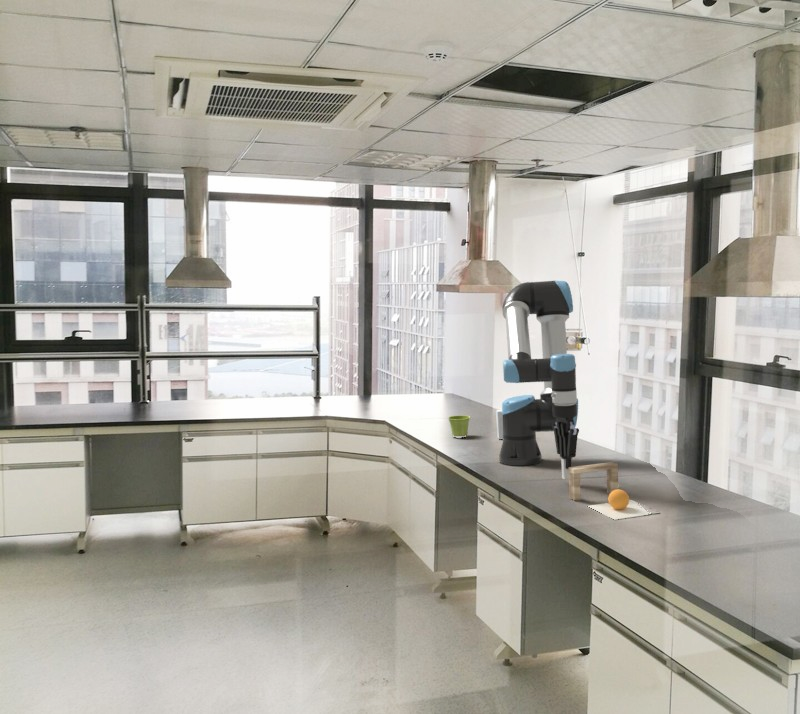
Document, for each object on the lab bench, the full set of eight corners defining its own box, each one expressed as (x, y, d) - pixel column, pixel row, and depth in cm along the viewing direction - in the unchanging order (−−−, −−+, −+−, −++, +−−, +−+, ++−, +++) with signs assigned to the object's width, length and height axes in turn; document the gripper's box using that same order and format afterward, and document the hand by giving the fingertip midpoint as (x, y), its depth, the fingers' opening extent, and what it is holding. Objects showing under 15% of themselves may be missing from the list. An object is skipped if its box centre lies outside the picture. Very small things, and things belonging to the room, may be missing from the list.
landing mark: (587, 506, 212) (587, 505, 212) (630, 500, 216) (630, 499, 216) (614, 520, 198) (614, 519, 198) (660, 513, 202) (660, 512, 202)
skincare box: (511, 437, 315) (510, 409, 314) (513, 439, 311) (512, 410, 310) (496, 438, 315) (495, 409, 314) (498, 440, 311) (497, 411, 310)
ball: (609, 514, 207) (602, 496, 210) (627, 511, 209) (619, 494, 212) (617, 505, 203) (610, 487, 206) (635, 502, 204) (627, 484, 208)
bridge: (569, 498, 221) (568, 467, 220) (613, 492, 225) (612, 461, 224) (574, 500, 218) (573, 469, 217) (618, 494, 222) (617, 463, 221)
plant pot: (469, 439, 316) (468, 419, 315) (447, 439, 318) (446, 419, 317) (472, 435, 325) (471, 415, 324) (451, 435, 327) (450, 415, 326)
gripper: (543, 402, 240) (546, 475, 242) (563, 407, 227) (566, 484, 229) (564, 400, 242) (567, 472, 244) (586, 405, 229) (588, 481, 231)
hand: (567, 478), depth 237 cm, fingers closed
